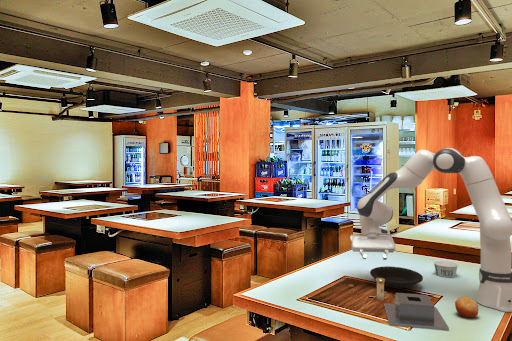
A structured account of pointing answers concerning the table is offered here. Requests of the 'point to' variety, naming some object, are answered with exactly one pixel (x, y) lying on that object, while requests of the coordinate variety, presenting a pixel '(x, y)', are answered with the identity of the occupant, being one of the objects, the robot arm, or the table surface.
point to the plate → (397, 276)
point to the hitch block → (414, 312)
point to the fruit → (466, 307)
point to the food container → (445, 269)
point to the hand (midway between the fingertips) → (374, 258)
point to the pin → (380, 288)
